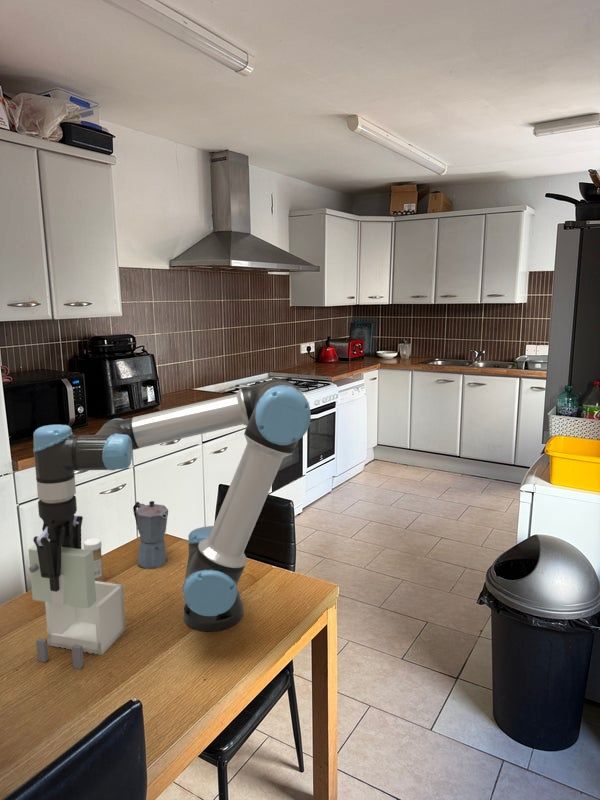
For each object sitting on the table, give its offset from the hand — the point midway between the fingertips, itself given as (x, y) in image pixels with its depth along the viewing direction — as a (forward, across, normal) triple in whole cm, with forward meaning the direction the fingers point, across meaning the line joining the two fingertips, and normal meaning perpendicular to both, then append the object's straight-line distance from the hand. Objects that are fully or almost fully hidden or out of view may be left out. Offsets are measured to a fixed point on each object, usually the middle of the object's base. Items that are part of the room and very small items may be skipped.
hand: (64, 598), depth 123 cm
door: (+1, 0, 0) cm, 1 cm away
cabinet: (+14, -4, 0) cm, 15 cm away
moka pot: (+15, -46, -5) cm, 49 cm away
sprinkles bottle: (+15, -29, -13) cm, 35 cm away
